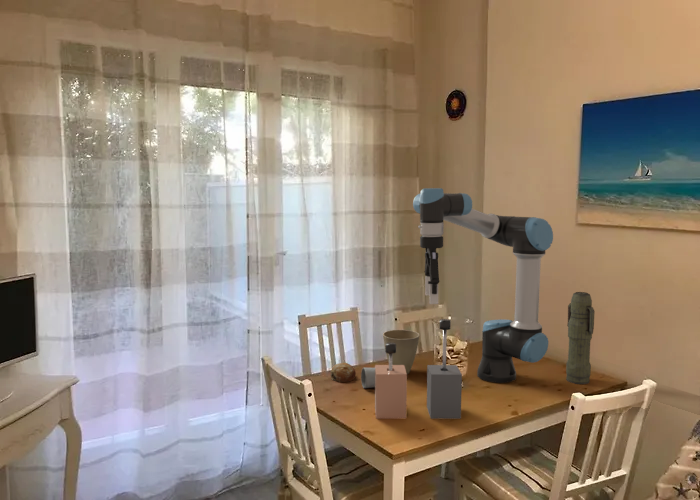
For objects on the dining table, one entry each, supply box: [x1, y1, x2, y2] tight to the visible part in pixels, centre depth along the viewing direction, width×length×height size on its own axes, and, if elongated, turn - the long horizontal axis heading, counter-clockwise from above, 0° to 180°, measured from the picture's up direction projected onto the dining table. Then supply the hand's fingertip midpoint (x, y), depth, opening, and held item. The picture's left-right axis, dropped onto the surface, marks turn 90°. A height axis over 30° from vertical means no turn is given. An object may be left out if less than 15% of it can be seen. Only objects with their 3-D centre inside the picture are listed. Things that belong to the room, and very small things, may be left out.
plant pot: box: [382, 329, 420, 375], centre depth 238 cm, size 15×15×16 cm
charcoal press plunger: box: [439, 318, 452, 371], centre depth 194 cm, size 8×8×22 cm
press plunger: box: [384, 342, 396, 371], centre depth 195 cm, size 8×8×22 cm
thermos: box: [565, 291, 595, 385], centre depth 226 cm, size 9×12×35 cm
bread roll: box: [330, 362, 357, 383], centre depth 231 cm, size 10×10×8 cm
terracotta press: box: [374, 364, 408, 419], centre depth 196 cm, size 10×12×15 cm
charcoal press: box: [426, 364, 463, 420], centre depth 196 cm, size 10×12×15 cm
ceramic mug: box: [360, 367, 375, 389], centre depth 222 cm, size 11×8×8 cm
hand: (431, 299), depth 192 cm, fingers open, 13 cm apart
